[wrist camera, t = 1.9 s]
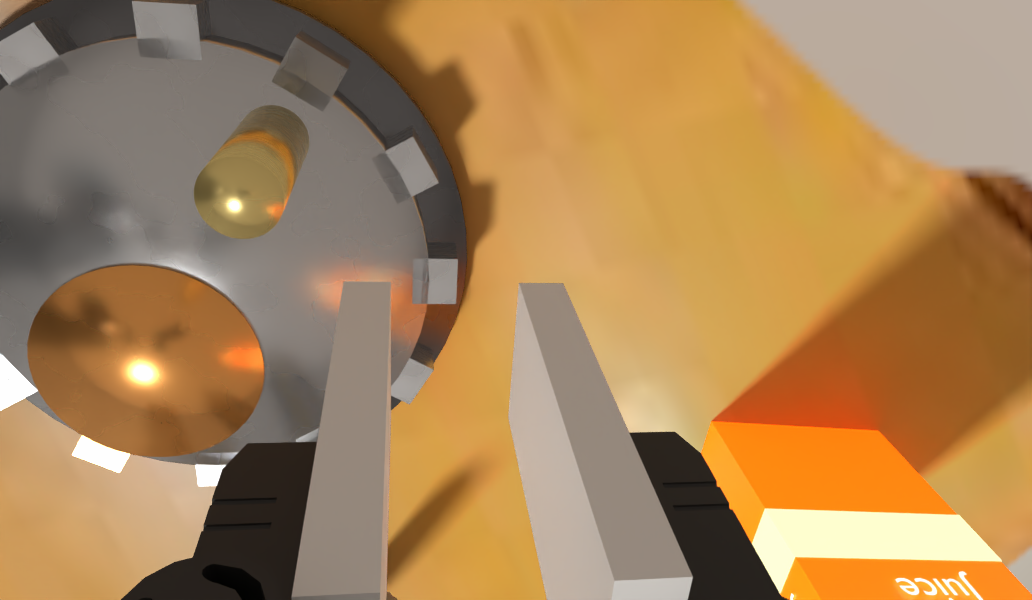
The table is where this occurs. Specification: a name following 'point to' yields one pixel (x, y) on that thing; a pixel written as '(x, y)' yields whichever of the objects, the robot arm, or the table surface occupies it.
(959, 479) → the table surface
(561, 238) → the table surface
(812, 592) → the orange juice
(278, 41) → the base plate
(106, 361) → the sprocket
